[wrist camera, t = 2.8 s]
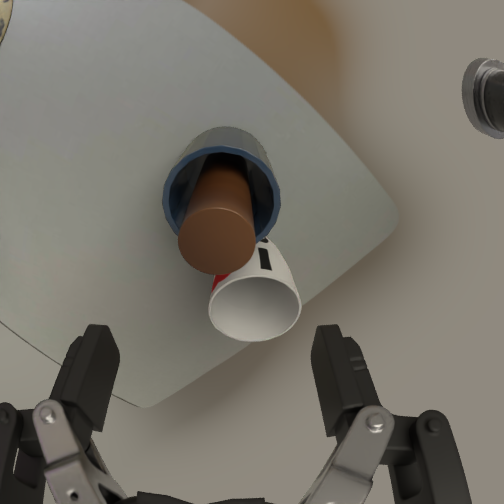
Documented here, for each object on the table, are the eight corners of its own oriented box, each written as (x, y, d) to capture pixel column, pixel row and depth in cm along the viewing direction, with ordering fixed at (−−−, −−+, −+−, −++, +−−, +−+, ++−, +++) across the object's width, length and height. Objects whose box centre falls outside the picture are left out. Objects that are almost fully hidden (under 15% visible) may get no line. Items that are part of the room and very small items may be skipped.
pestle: (236, 141, 27) (235, 194, 15) (254, 180, 29) (267, 259, 18) (194, 160, 28) (163, 227, 16) (214, 197, 30) (200, 284, 18)
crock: (247, 112, 26) (252, 125, 19) (280, 188, 31) (296, 230, 23) (167, 149, 28) (141, 178, 20) (205, 219, 32) (196, 268, 25)
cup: (274, 208, 32) (288, 262, 23) (293, 267, 36) (309, 328, 28) (203, 232, 33) (192, 291, 24) (229, 286, 37) (229, 349, 29)
